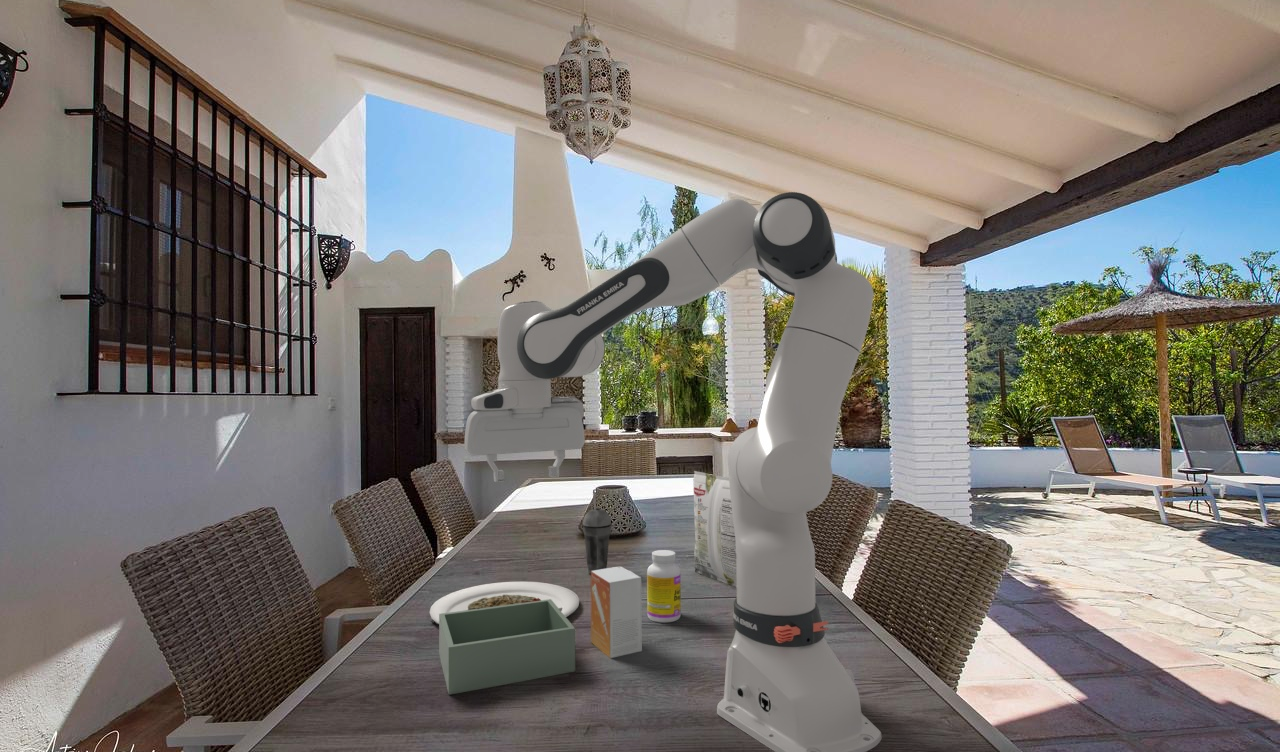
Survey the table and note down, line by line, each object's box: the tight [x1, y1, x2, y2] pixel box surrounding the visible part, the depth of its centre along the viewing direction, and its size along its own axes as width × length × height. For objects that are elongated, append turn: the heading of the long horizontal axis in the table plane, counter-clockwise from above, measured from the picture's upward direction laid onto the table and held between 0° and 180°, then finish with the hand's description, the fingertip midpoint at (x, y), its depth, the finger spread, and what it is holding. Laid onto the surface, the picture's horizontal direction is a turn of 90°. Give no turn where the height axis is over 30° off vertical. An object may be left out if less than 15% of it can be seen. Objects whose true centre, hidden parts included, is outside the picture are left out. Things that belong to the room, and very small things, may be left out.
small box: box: [590, 566, 643, 659], centre depth 114 cm, size 8×6×13 cm
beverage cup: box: [581, 490, 612, 574], centre depth 161 cm, size 7×7×20 cm
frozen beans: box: [692, 470, 737, 588], centre depth 152 cm, size 21×6×25 cm, turn 32°
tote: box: [438, 599, 576, 696], centre depth 108 cm, size 16×20×7 cm
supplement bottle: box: [646, 549, 682, 624], centre depth 129 cm, size 7×7×13 cm
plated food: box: [429, 581, 580, 625], centre depth 134 cm, size 30×30×3 cm
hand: (526, 479), depth 110 cm, fingers open, 8 cm apart
